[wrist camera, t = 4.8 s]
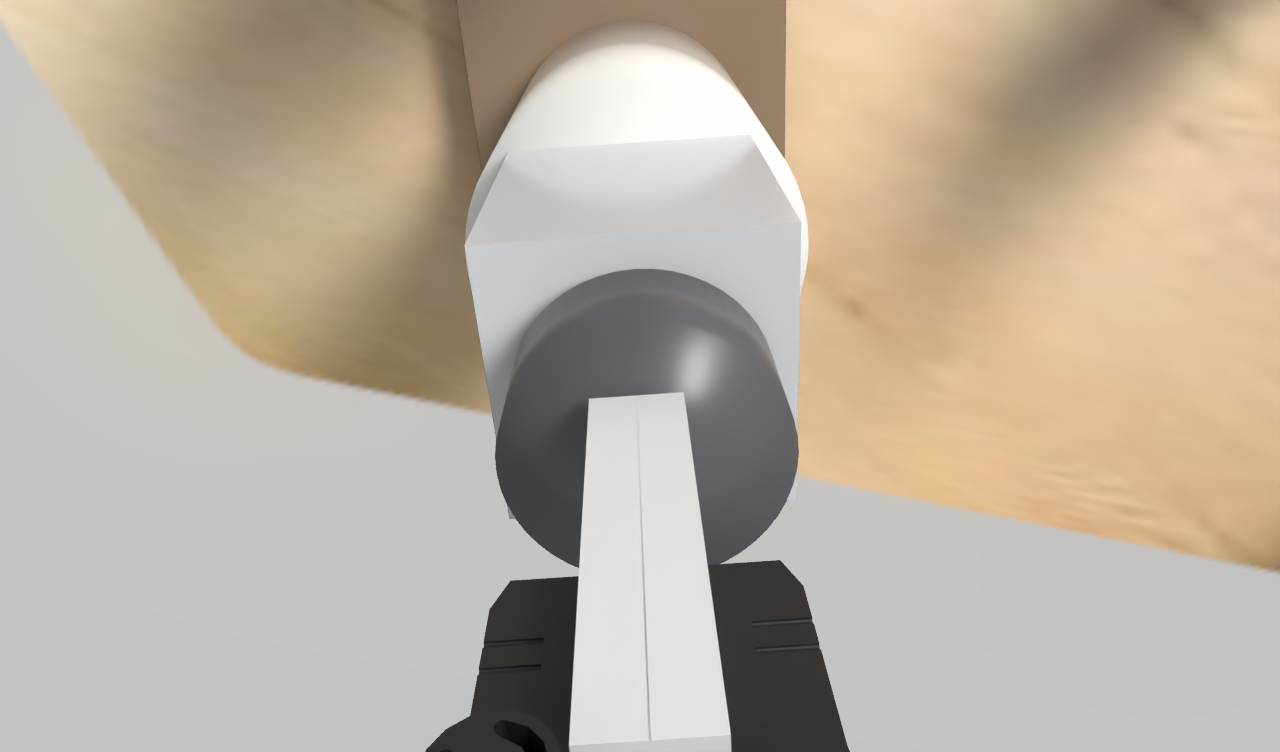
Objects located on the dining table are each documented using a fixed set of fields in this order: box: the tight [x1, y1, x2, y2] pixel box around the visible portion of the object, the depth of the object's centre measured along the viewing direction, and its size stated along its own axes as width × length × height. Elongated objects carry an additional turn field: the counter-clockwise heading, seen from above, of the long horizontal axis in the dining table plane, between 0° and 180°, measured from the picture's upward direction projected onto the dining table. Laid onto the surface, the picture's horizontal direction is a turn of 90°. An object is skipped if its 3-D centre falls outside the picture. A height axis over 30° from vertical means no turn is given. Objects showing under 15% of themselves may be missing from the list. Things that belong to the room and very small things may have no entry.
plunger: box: [495, 269, 799, 568], centre depth 19 cm, size 5×5×9 cm
